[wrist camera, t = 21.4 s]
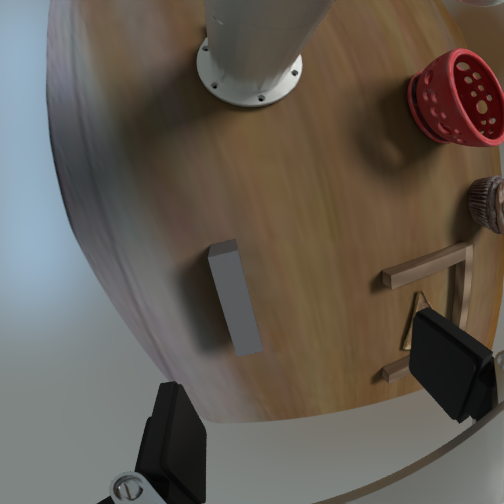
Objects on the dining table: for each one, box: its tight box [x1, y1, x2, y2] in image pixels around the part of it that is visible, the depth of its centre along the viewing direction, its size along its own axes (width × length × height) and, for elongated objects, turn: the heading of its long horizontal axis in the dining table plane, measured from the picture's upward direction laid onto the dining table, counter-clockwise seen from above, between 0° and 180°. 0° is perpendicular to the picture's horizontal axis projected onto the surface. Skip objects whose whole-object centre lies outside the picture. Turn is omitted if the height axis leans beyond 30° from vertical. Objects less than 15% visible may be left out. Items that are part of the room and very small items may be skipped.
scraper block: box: [208, 239, 263, 357], centre depth 31 cm, size 12×3×6 cm, turn 13°
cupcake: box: [468, 175, 504, 235], centre depth 30 cm, size 10×10×10 cm
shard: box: [403, 290, 433, 349], centre depth 38 cm, size 11×8×2 cm
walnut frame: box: [382, 242, 473, 384], centre depth 37 cm, size 20×18×2 cm
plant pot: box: [407, 48, 504, 147], centre depth 25 cm, size 13×13×12 cm
